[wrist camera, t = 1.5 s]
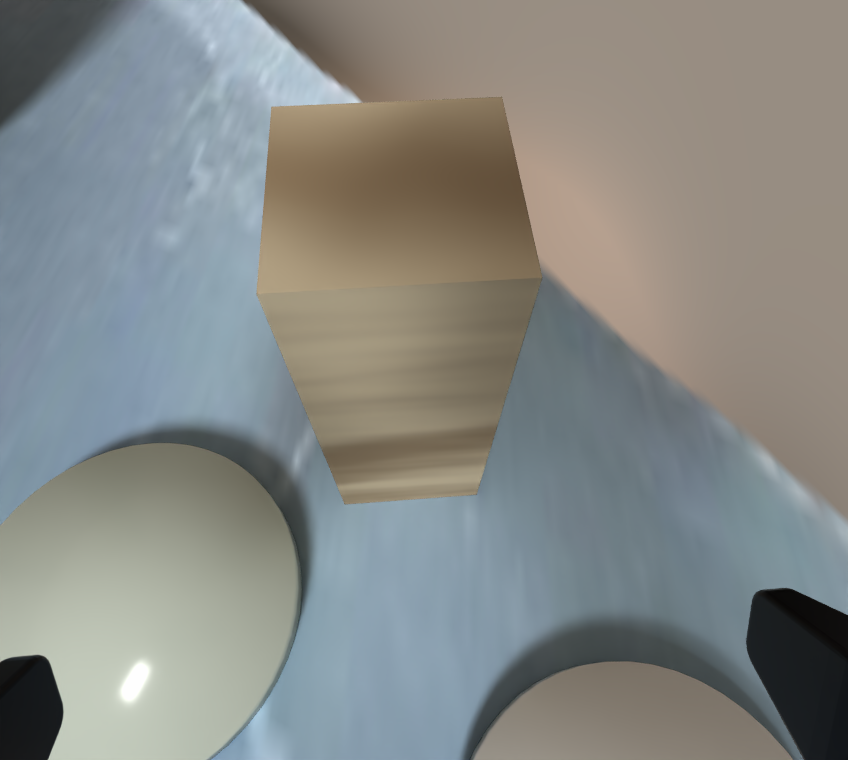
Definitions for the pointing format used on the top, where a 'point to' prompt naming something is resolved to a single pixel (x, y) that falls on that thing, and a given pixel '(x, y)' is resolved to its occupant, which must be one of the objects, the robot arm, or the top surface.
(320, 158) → the tan wooden block
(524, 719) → the beige flat disc
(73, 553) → the beige round flat piece
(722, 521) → the top surface
